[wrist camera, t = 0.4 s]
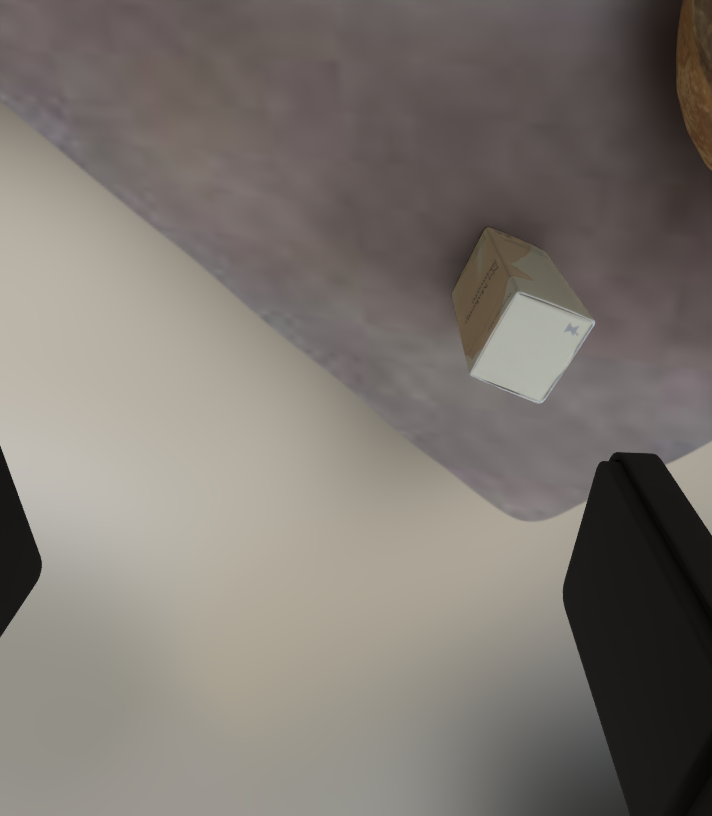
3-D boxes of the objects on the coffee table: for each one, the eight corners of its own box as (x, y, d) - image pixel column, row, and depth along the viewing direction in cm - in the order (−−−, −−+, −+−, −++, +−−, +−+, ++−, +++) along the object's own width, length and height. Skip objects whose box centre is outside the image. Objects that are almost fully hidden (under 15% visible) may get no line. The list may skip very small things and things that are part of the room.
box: (486, 224, 36) (521, 284, 27) (547, 250, 37) (603, 318, 27) (447, 299, 39) (467, 378, 29) (505, 323, 39) (543, 407, 30)
